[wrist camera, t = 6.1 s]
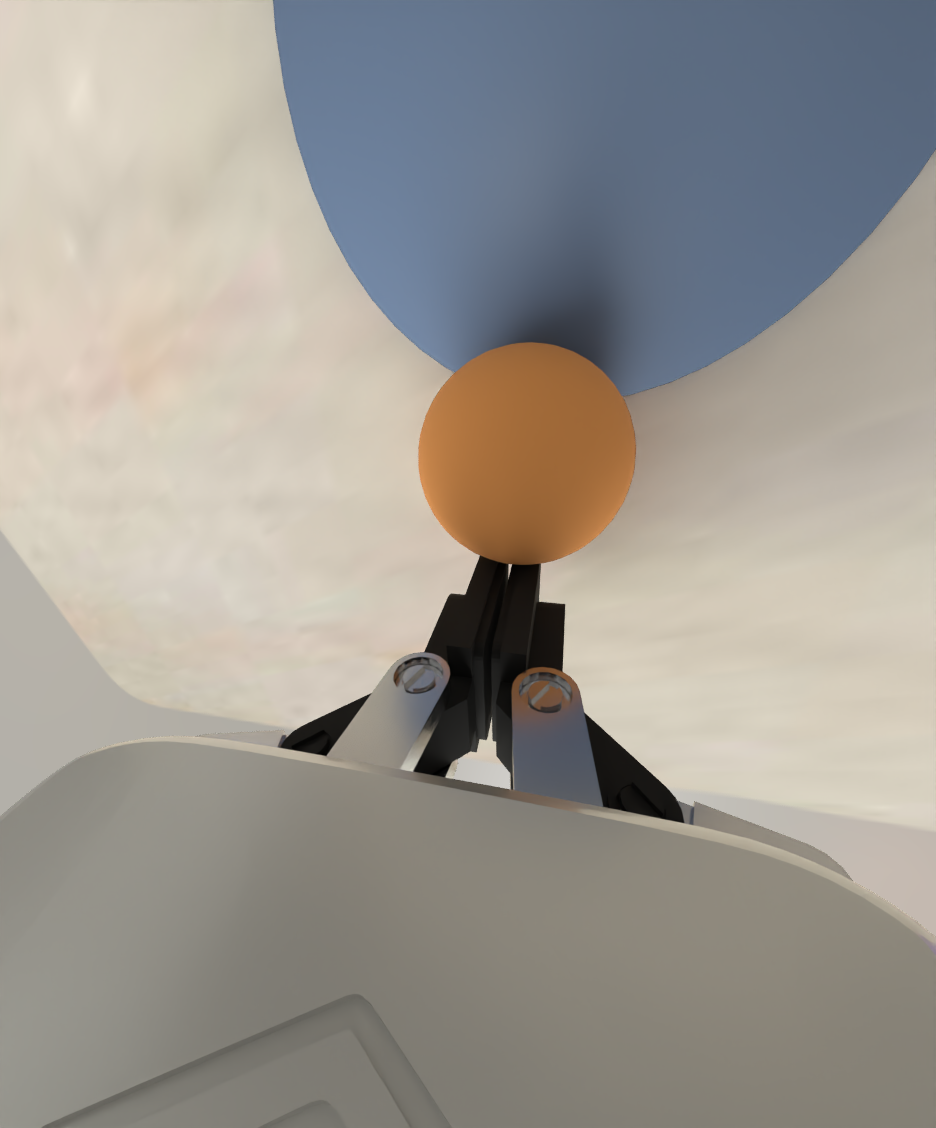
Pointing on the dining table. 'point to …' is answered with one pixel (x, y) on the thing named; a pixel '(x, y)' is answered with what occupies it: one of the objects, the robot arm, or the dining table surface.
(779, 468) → the dining table surface
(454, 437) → the ball
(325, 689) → the dining table surface
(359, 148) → the disc
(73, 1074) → the robot arm
